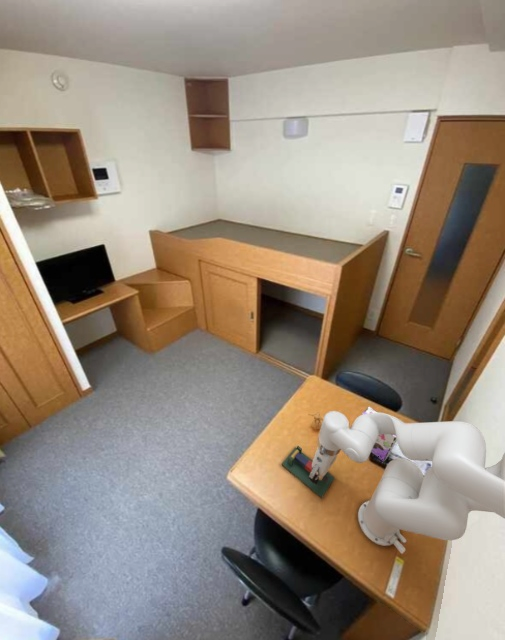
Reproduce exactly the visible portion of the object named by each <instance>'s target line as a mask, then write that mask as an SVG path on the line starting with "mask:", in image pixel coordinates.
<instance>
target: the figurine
mask: <svg viewBox="0 0 505 640" xmlns="http://www.w3.org/2000/svg"><path fill="white" fill-rule="evenodd" d="M307 416H312V417H313V419H314V420H313V421H312V423H311V427H312V428H313V429H315V430H320V429H321V426H322V422H323V419H324V418H322V416H321V413H320V412H319V411H317V412H316V414H313V413H308V414H307ZM321 421H322V422H321Z"/></svg>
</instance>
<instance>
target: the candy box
mask: <svg viewBox="0 0 505 640" xmlns="http://www.w3.org/2000/svg"><path fill="white" fill-rule="evenodd" d="M368 413H379V411H377V410H375V409H373V408H372V407H371V406H370V405H369V406H368V407H367V408H366V409H365V410H364V411H363V412H362V413H361V415H363V414H368ZM396 443H397V439H396V435H392V434H383V435H379V436H378V438H377V440H376V442H375V444H374V446H373V449H372V451H371V453H370V454H372V455H374V456H375V457H376V458H378V459H379V460H380V461H382V462H383V463H385V461H386V460H387V459H388V457H390V455H391V453H392V451H393V449H394V447H395V445H396ZM378 456H379V457H378ZM382 459H383V460H382Z"/></svg>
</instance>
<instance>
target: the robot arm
mask: <svg viewBox="0 0 505 640" xmlns="http://www.w3.org/2000/svg"><path fill="white" fill-rule="evenodd" d="M362 414H363V413H362ZM362 414H360V415H358V416H357V417H356V418H355V419H354V421H353V422H352V424H351V426H350V422H349V418H347V416H346V415H345V414H344V413H342V412H340V411H337V410H330V411H328V412H327V413H325V415H324V416H323V418H322V419H323V421H322V422H321V424H322V426H321V428H320V429H319V433H318V437H317V441H316V447H317V449H316V451H315V454H314V456H313V459H312V461H313V462H312V468H313V469H312V470H311V472H310V475H309V479H310V481H311V482H312V483H315V484H316V485H317V483H318V480H319V475H322V476H324V475H325V474H326V473H327V472H329V470H330V468H332V466H333V464H334V463H335V461H336V460H337V458H338V455H339V454H340V452H342V453H344V454H345V455H346V456H347V457H348V458H349V459H350V461H351V460H352V461H353V462H355V463H358V464H364V463H366V462H367V461H368V459H369V457H370V455H371V454H372V453H371V451H372V449H373V446H374V444H375V442H376V440H377V438H378V436H379V435H383V434H392V435H396V439H397V441H396V443H397V446H398V448H399V450H400V452H401V453H402V455H403V456H404V458H403V457H397V458H393V459H391V460H390V461H389V462H388V463H387V465H386V466H385V468H384V470H383V473H382V476H381V478H380V480H379V482H378V484H377V486H376V488H375V490H374V492H373V493H372V495H371V497H370V499H369V500H366V501H365V502H363V503H362V504H361V505H360V507H359V509H358V513H357V520H358V524H359V527H360V529H361V531H362V532H363V534H364V535H365V536H366V537H367V538H368V540H370V541H371V542H372V543H374V544H376V545H378V546H381V547H389V546H392V545H393V546H394V547H395V548H396V550H398V552H399V553H400V554H401V555H402V554H404V552H405V551H406V550H407V548H405V546H404V545H405V543H406V542H407V539H406V538H405V536H403V535H402V533H401V532H400V531H405V532H409V533H413V534H417V535H420V536H425V537H429V538H433V539H437V540H442V541H457V540H459V539H460V538H463V536H464V535H465V533H466V530H467V527H468V518H469V513H471V512H475V511H476V512H487V513H493V514H496V515H498V516H500V517H501V518H503V519H505V452H504V453H503V454H502V457H501V459H500V460H499V461H498V462H496V463H495V464H494V465H490V466H488V467H486V459H487V458H486V457H487V445H486V444H487V443H486V440H485V437H484V435H483V433H482V432H481V430H480V429H479V428H478V427H477V426H475V425H474V424H473V423H470V422H466V421H460V420H459V421H458V420H456V421H455V420H453V421H452V420H451V421H449V420H448V421H432V422H431V421H430V422H429V421H428V422H404V421H403V420H402V419H400V418H399V417H396V416H394V415H392V414H389V413H385V412H378V413H368V414H363V415H362ZM414 461H418V462H419V461H420V462H431V467H429V468H428V469H426V471H425V473H424V474H423V471H422V470H421V468H420V467H419V465H417V464H416V463H415V462H414ZM316 472H318V475H316ZM398 539H399V540H400V541H399V540H398ZM403 544H404V545H403Z"/></svg>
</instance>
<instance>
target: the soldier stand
mask: <svg viewBox="0 0 505 640" xmlns="http://www.w3.org/2000/svg"><path fill="white" fill-rule="evenodd" d="M296 450H299V453H300V454H301V455H303V456H304V457H305V458H306V459H308V460H310V461H311V462H313V459H311V458H310V457H309V456H307V455H306V454H305V453H303V452H302V451H303V448H302V447H300V446H299V445H297V446H296V447H294V448H293V449H292V451H291V452H290V453H289V454H288V455H287V457H286V458H285V459H284V460H283V461H282V462H281V466H282V467H283V468H284V469H286V471H288V472H289V473H290V474H291V475H293V476H294V477H295V478H296V479H298V481H300V482H301V483H302V484H304V486H306V488H308V489H310V490H311V491H312V492H313V493H314V494H316V496H318V497H319V498H320V499H322V498H323V497H324V495H325V494H326V492H327V491H328V489H329V488H330V487H331V485H332V483H333V482H334V480H335V476H333V475H332V474H331V473H329V471H327V473H326V475H327V476H328V477H329V478H328V480H327V481H326V483H325V482H323V481H322V480H318V483H317V485H316V484H315V483H312V482H311V481H310V479H309V475H310V472H308V471H307V470H306V469H305V467H303V466H302V465H301V464H300V463H298V462H297V461H296V460H295V458H294V459H293V458H291V456H292V454H293V453H294V452H295V451H296Z"/></svg>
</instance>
